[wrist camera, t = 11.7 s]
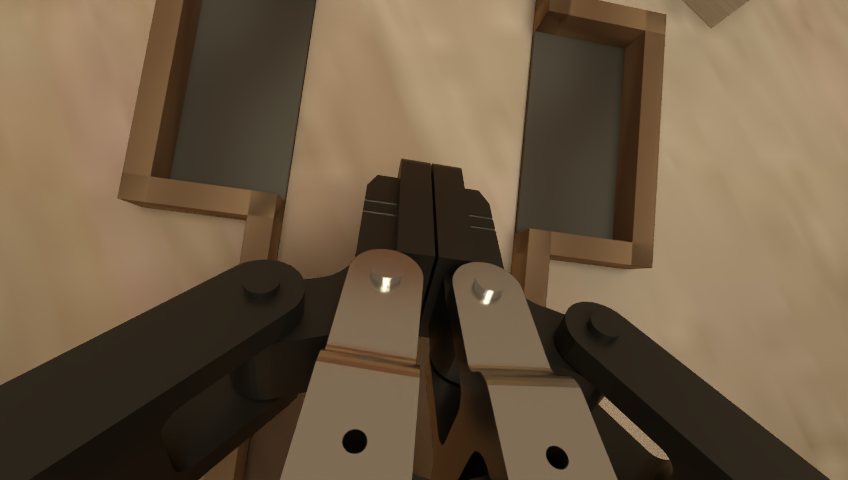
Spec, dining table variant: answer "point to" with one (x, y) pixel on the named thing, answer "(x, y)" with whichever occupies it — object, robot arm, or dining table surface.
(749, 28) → the dining table surface
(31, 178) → the dining table surface
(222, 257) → the dining table surface
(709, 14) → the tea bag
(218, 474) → the trap lane
